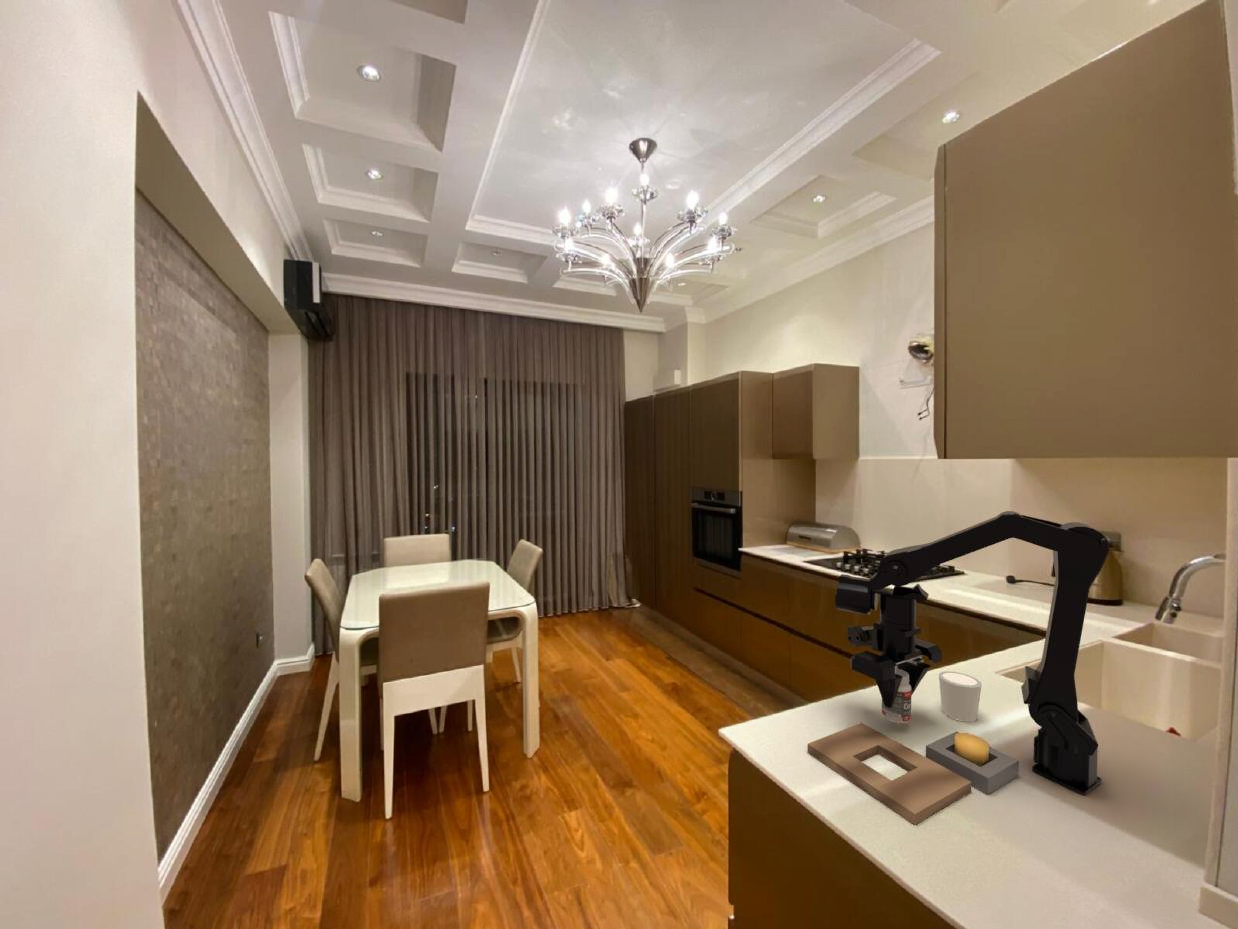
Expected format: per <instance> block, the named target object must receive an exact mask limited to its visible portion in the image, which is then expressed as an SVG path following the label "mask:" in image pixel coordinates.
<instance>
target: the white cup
mask: <svg viewBox="0 0 1238 929" xmlns="http://www.w3.org/2000/svg"><path fill="white" fill-rule="evenodd" d="M938 680H939V681H938V682H939V694H940V706H941V712H942V714H944V715H945V716H947V715H948V716H949V717H948V716H947V717H948V718H950V717H951V718H950V719H952V720H955V719H958V720H961V721H960V722H963V721H965V722H964V723H974V722H973V721H975V720H976V719H978V714H979V706H980V700H981V691H982V686H983V685H982V681H980V680H979V679H977V678H976V677H974V676H972V675H969V674H966V673H962V672H957V671H949V670H945V671H941V672H939V673H938ZM958 720H957V721H958ZM976 721H977V720H976ZM976 721H975V722H976Z"/></svg>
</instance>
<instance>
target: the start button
mask: <svg viewBox="0 0 1238 929" xmlns="http://www.w3.org/2000/svg"><path fill="white" fill-rule="evenodd" d="M989 747H990V745H989V743H988V741H986V740H985V739H983V738H982V737H980V736H978V735H975V734H973V733H969V732H968V733H967V732H959V733H957V734H955V754H956V755H958V756H960V757H962V758H964V759H966V760H968V761H970V762H972V763H974V764H976V765H978V766H980V765H981V766H984V765H985V764H987V763H988V761H989Z"/></svg>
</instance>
